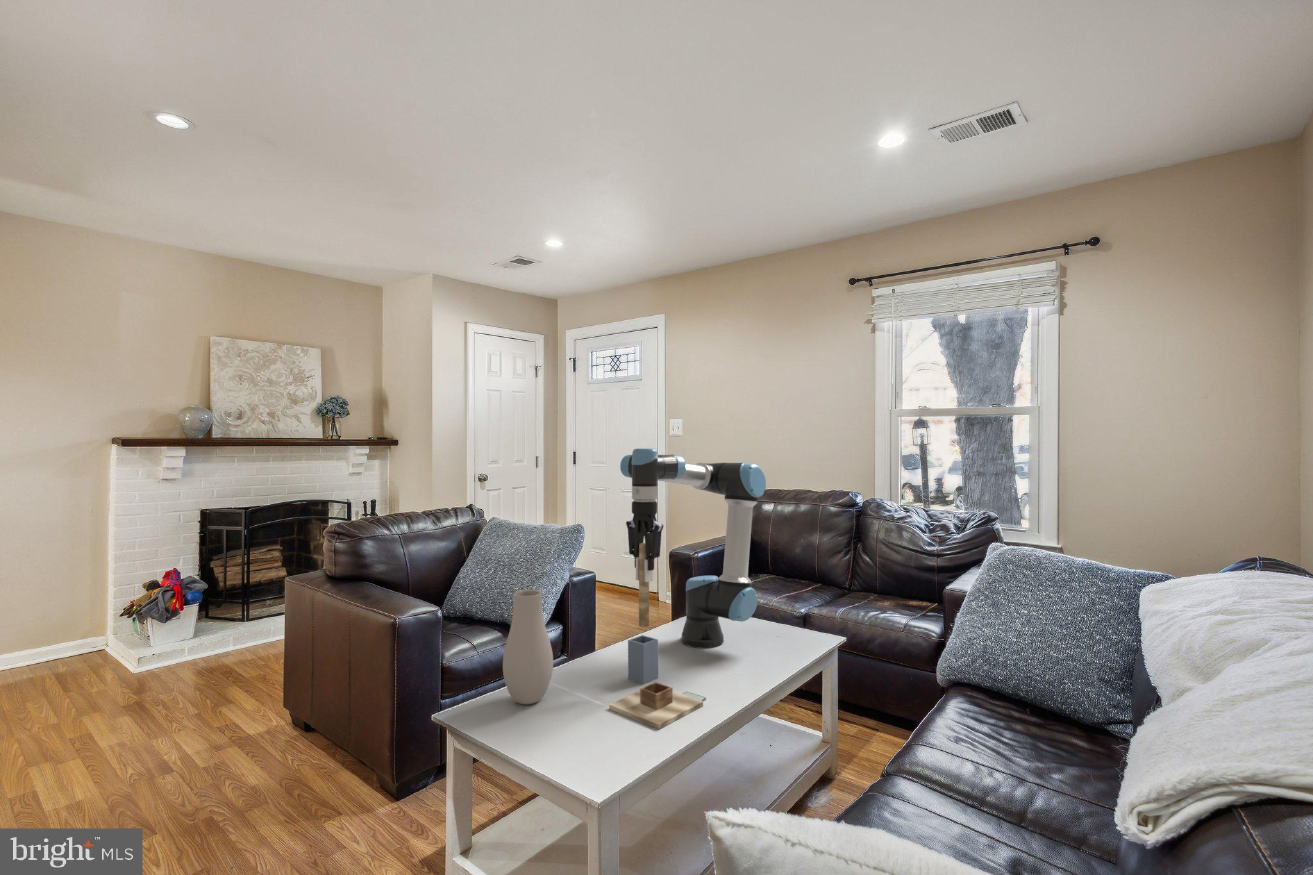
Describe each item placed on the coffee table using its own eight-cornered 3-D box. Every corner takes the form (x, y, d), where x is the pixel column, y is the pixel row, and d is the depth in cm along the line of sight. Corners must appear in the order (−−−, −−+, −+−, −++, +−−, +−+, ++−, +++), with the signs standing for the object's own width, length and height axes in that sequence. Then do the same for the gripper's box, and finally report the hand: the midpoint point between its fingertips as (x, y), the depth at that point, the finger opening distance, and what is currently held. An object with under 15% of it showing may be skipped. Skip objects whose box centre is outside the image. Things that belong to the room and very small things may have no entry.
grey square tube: (642, 673, 189) (642, 635, 189) (658, 679, 185) (657, 639, 185) (628, 679, 185) (628, 640, 185) (643, 685, 180) (643, 644, 180)
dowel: (643, 623, 182) (644, 542, 182) (651, 625, 180) (651, 543, 180) (636, 625, 180) (637, 543, 180) (644, 627, 178) (644, 544, 178)
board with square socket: (653, 688, 178) (653, 670, 178) (703, 705, 166) (702, 686, 166) (609, 708, 164) (609, 689, 165) (659, 729, 152) (659, 708, 153)
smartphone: (707, 697, 171) (677, 717, 158) (707, 700, 171) (677, 720, 158) (685, 690, 175) (654, 709, 163) (685, 693, 175) (654, 712, 163)
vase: (548, 711, 163) (548, 598, 164) (497, 711, 163) (496, 599, 164) (556, 690, 177) (556, 586, 177) (509, 690, 177) (508, 587, 177)
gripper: (616, 499, 183) (616, 578, 183) (655, 502, 172) (655, 586, 172) (634, 498, 189) (634, 574, 188) (673, 501, 178) (672, 582, 177)
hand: (644, 580), depth 180 cm, fingers closed on dowel, 3 cm apart
